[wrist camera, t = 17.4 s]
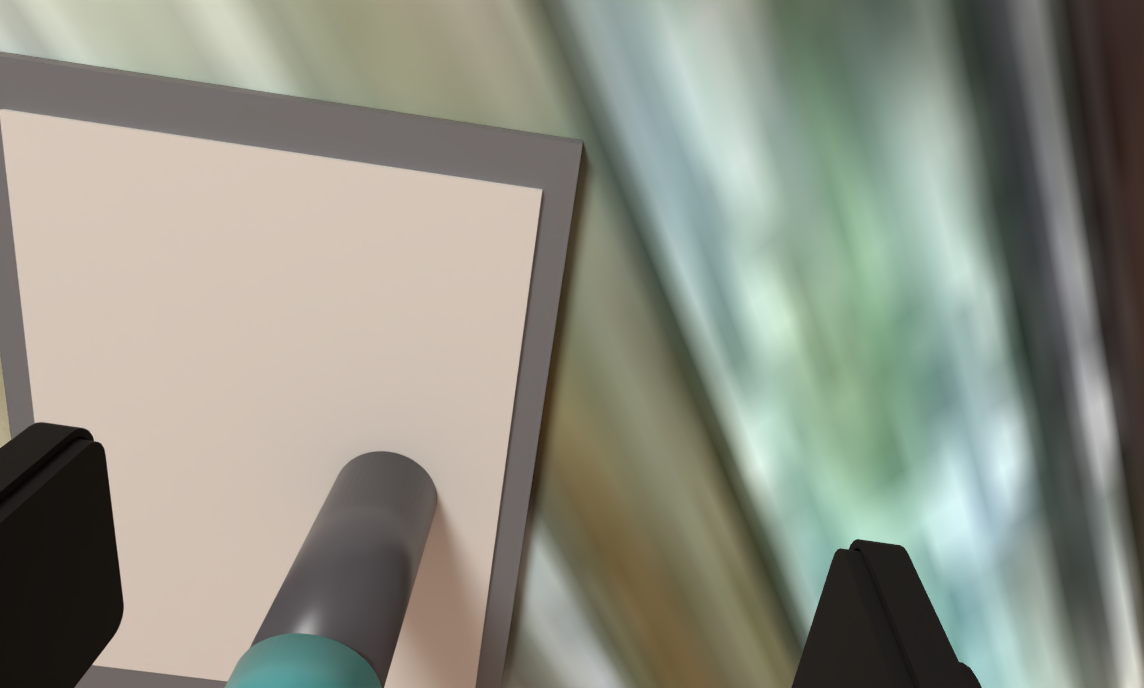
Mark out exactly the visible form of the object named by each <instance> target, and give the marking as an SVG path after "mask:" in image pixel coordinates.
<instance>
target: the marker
mask: <svg viewBox="0 0 1144 688" xmlns="http://www.w3.org/2000/svg"><path fill="white" fill-rule="evenodd" d="M436 506H437V491H436V488H435V485H434V483H433V480H432V479H431V477H430V475H429V474H428V473H427V472H426V470H425V469H424V468H423V467H422V466H420V465H419V464H418V463H417V462H415V461H414V460H412V459H410V458H408V457H406V456H404V455H401V454H398V453H393V452H387V451H375V452H369V453H365V454H362V455H360V456H357V457H355V458H354V459H352V460H351V461H349V462H348V463H347V464H346V465H345V466H344V467H343V468H342V470H341V471H340V473H339V474H338V476H337V478H336V480H335V482H334V484H333V486H332V488H331V490H330V492H329V494H328V496H327V498H326V500H325V502H324V504H323V506H322V508H321V510H320V511H319V513H318V515H317V517H316V519H315V521H314V523H313V525H312V527H311V529H310V531H309V533H308V535H307V537H306V539H305V541H304V543H303V545H302V547H301V549H300V550H299V552H298V554H297V556H296V558H295V560H294V562H293V564H292V566H291V568H290V570H289V572H288V574H287V576H286V578H285V580H284V582H283V584H282V586H281V588H280V589H279V591H278V593H277V595H276V597H275V599H274V601H273V603H272V605H271V607H270V609H269V611H268V613H267V615H266V617H265V619H264V621H263V623H262V625H261V627H260V628H259V630H258V632H257V634H256V636H255V638H254V640H253V642H252V644H251V646H250V648H249V649H248V650H247V651H246V652H245V653H244V654H243V655H242V657H241V658H240V659H239V661H238V662H237V664H236V666H235V668H234V670H233V672H232V674H231V676H230V678H229V680H228V682H227V684H226V686H225V687H224V688H384V686H385V683H386V679H387V676H388V672H389V669H390V666H391V662H392V659H393V655H394V652H395V648H396V645H397V641H398V638H399V635H400V631H401V628H402V624H403V621H404V617H405V614H406V610H407V607H408V604H409V600H410V597H411V593H412V590H413V586H414V583H415V579H416V576H417V573H418V569H419V566H420V562H421V559H422V555H423V552H424V548H425V545H426V541H427V538H428V535H429V531H430V528H431V524H432V521H433V517H434V514H435V510H436Z"/></svg>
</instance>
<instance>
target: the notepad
mask: <svg viewBox="0 0 1144 688" xmlns="http://www.w3.org/2000/svg"><path fill="white" fill-rule="evenodd" d="M582 145H583V140H578V139H571V138H565V137H558V136H551V135H545V134H538V133H532V132H525V131H519V130H512V129H505V128H499V127H492V126H486V125H479V124H473V123H466V122H459V121H453V120H446V119H440V118H433V117H426V116H420V115H413V114H407V113H400V112H394V111H387V110H380V109H374V108H367V107H361V106H354V105H348V104H341V103H334V102H328V101H321V100H315V99H308V98H302V97H295V96H288V95H282V94H275V93H269V92H262V91H256V90H249V89H242V88H236V87H229V86H223V85H216V84H210V83H203V82H196V81H190V80H183V79H177V78H170V77H164V76H157V75H150V74H144V73H137V72H131V71H124V70H118V69H111V68H104V67H98V66H91V65H85V64H78V63H71V62H65V61H58V60H52V59H45V58H39V57H32V56H25V55H19V54H12V53H6V52H0V354H1V362H2V370H3V378H4V386H5V394H6V402H7V410H8V418H9V425H10V433H11V440H12V439H13V438H14V437H16V436H17V435H18V434H20V433H21V432H22V431H24V430H25V429H26V428H28V427H29V426H31V425H33V424H34V423H38V422H45V423H52V424H59V425H66V426H73V427H80V428H85V429H87V430H89V431H90V433H91V434H92V436H93V439H94V441H96V442H99V443H101V444H102V445H103V447H104V450H105V454H106V462H107V470H108V478H109V487H110V495H111V503H112V511H113V519H114V528H115V536H116V544H117V552H118V560H119V569H120V577H121V585H122V593H123V601H124V612H123V617H122V620H121V624H120V626H119V628H118V630H117V632H116V634H115V635H114V637H113V638H112V639H111V641H110V642H109V643H108V645H107V646H106V647H105V649H104V650H103V651H102V652H101V654H100V655H99V656H98V658H97V659H96V660H95V662H94V663H93V664H92V665H91V667H90V668H89V669H88V671H87V672H86V673H85V674H84V676H83V677H82V678H81V680H80V681H79V682H78V684H77V685H76V686H75V688H224V687H225V686H226V684H227V682H228V680H229V678H230V676H231V674H232V672H233V670H234V668H235V666H236V664H237V662H238V661H239V659H240V658H241V657H242V655H243V654H244V653H245V652H246V651H247V650H248V649H249V648H250V646H251V644H252V642H253V640H254V638H255V636H256V634H257V632H258V630H259V628H260V627H261V625H262V623H263V621H264V619H265V617H266V615H267V613H268V611H269V609H270V607H271V605H272V603H273V601H274V599H275V597H276V595H277V593H278V591H279V589H280V588H281V586H282V584H283V582H284V580H285V578H286V576H287V574H288V572H289V570H290V568H291V566H292V564H293V562H294V560H295V558H296V556H297V554H298V552H299V550H300V549H301V547H302V545H303V543H304V541H305V539H306V537H307V535H308V533H309V531H310V529H311V527H312V525H313V523H314V521H315V519H316V517H317V515H318V513H319V511H320V510H321V508H322V506H323V504H324V502H325V500H326V498H327V496H328V494H329V492H330V490H331V488H332V486H333V484H334V482H335V480H336V478H337V476H338V474H339V473H340V471H341V470H342V468H343V467H344V466H345V465H346V464H347V463H348V462H349V461H351V460H352V459H354V458H355V457H357V456H360V455H362V454H365V453H369V452H375V451H387V452H393V453H398V454H401V455H404V456H406V457H408V458H410V459H412V460H414V461H415V462H417V463H418V464H419V465H420V466H422V467H423V468H424V469H425V470H426V472H427V473H428V474H429V475H430V477H431V479H432V480H433V483H434V485H435V488H436V491H437V506H436V510H435V514H434V517H433V521H432V524H431V528H430V531H429V535H428V538H427V541H426V545H425V548H424V552H423V555H422V559H421V562H420V566H419V569H418V573H417V576H416V579H415V583H414V586H413V590H412V593H411V597H410V600H409V604H408V607H407V610H406V614H405V617H404V621H403V624H402V628H401V631H400V635H399V638H398V641H397V645H396V648H395V652H394V655H393V659H392V662H391V666H390V669H389V672H388V676H387V679H386V683H385V686H384V688H501V684H502V678H503V671H504V664H505V658H506V651H507V644H508V638H509V631H510V624H511V618H512V611H513V604H514V598H515V591H516V584H517V578H518V571H519V564H520V558H521V551H522V544H523V538H524V531H525V525H526V518H527V511H528V505H529V498H530V491H531V485H532V478H533V471H534V465H535V458H536V451H537V445H538V438H539V431H540V425H541V418H542V411H543V405H544V398H545V391H546V385H547V378H548V372H549V365H550V358H551V352H552V345H553V338H554V332H555V325H556V318H557V312H558V305H559V298H560V292H561V285H562V278H563V272H564V265H565V258H566V252H567V245H568V238H569V232H570V225H571V219H572V212H573V205H574V199H575V192H576V185H577V179H578V172H579V165H580V159H581V152H582Z"/></svg>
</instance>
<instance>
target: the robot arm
mask: <svg viewBox="0 0 1144 688" xmlns="http://www.w3.org/2000/svg"><path fill="white" fill-rule="evenodd" d="M123 612H124V601H123V593H122V585H121V577H120V569H119V560H118V552H117V544H116V536H115V528H114V519H113V511H112V503H111V495H110V487H109V478H108V470H107V462H106V454H105V450H104V447H103V445H102V444H101V443H99V442H96V441H94V439H93V436H92V434H91V433H90V431H89V430H87V429H85V428H80V427H73V426H66V425H59V424H52V423H45V422H38V423H34V424H33V425H31V426H29V427H28V428H26V429H25V430H24V431H22V432H21V433H20V434H18V435H17V436H16V437H14V438H13V439H12V440H11V441H9V442H8V443H7V444H5V445H4V446H3V447H1V448H0V688H74V687H75V686H76V685H77V684H78V682H79V681H80V680H81V678H82V677H83V676H84V674H85V673H86V672H87V671H88V669H89V668H90V667H91V665H92V664H93V663H94V662H95V660H96V659H97V658H98V656H99V655H100V654H101V652H102V651H103V650H104V649H105V647H106V646H107V645H108V643H109V642H110V641H111V639H112V638H113V637H114V635H115V634H116V632H117V630H118V628H119V626H120V624H121V620H122V617H123ZM792 688H982V687H981V685H980V683H979V681H978V679H977V678H976V676H975V675H974V673H973V671H972V670H971V668H969V667H968V666H967V665H965V664H964V663H961V662H959V661H958V659H957V657H956V655H955V653H954V651H953V648H952V646H951V644H950V642H949V640H948V638H947V636H946V633H945V631H944V629H943V627H942V625H941V623H940V621H939V619H938V616H937V614H936V612H935V610H934V608H933V606H932V604H931V602H930V599H929V597H928V595H927V593H926V591H925V589H924V587H923V585H922V582H921V580H920V578H919V576H918V574H917V572H916V570H915V567H914V565H913V563H912V561H911V559H910V557H909V555H908V553H907V551H906V550H905V548H904V547H902V546H900V545H894V544H887V543H880V542H873V541H866V540H859V539H857V540H855V541H853V543H852V544H851V545H850V548H849V550H847V549H838V550H837V551H836V552H835V554H834V557H833V560H832V563H831V566H830V569H829V572H828V575H827V578H826V581H825V585H824V588H823V591H822V594H821V597H820V600H819V603H818V607H817V610H816V613H815V616H814V619H813V622H812V625H811V628H810V632H809V635H808V638H807V641H806V644H805V647H804V650H803V654H802V657H801V660H800V663H799V666H798V669H797V672H796V675H795V679H794V682H793V685H792Z"/></svg>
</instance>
